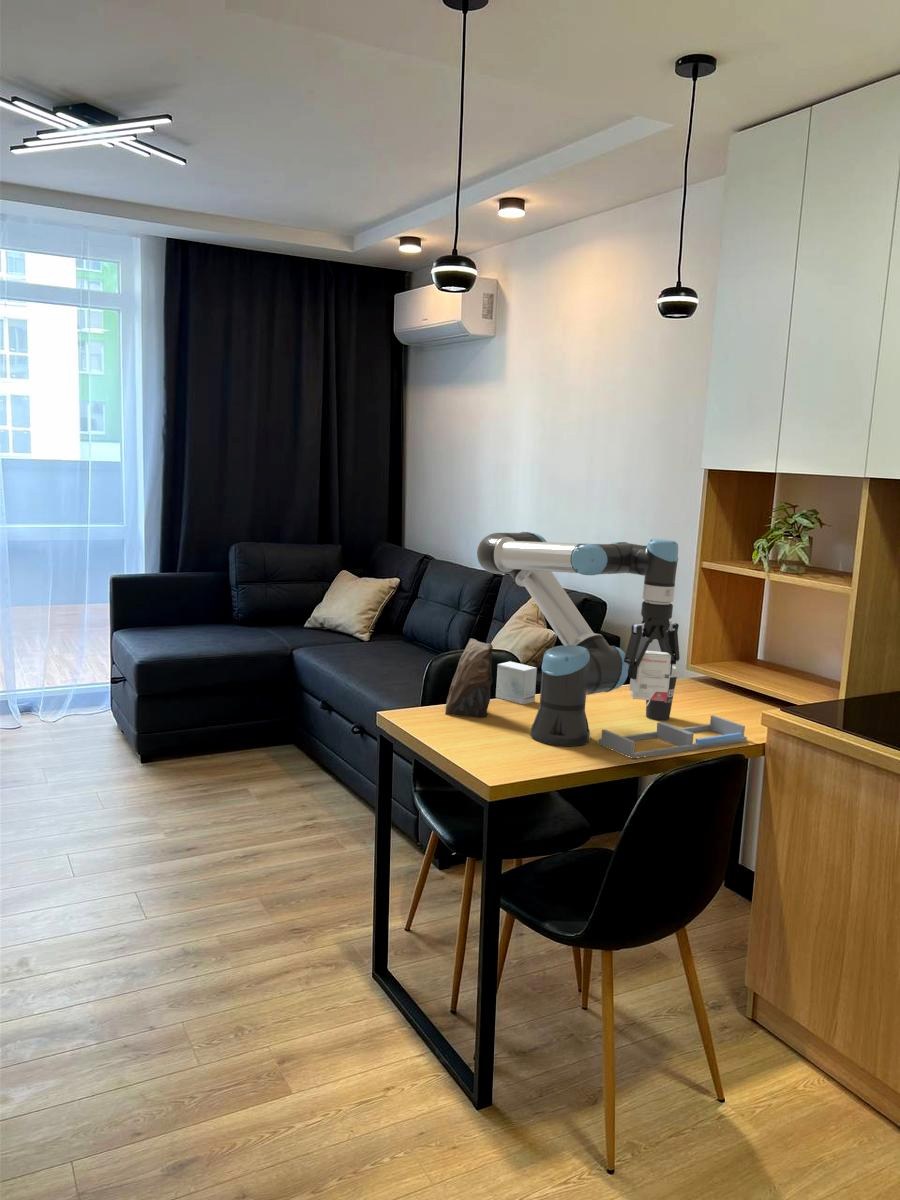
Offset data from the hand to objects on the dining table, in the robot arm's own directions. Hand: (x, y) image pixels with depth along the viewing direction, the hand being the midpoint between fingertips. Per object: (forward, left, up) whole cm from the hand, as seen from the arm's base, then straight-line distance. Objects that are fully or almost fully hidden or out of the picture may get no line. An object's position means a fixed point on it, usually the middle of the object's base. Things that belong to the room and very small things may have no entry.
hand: (649, 689), depth 232 cm
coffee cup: (+24, +20, -15) cm, 35 cm away
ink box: (0, 0, -2) cm, 2 cm away
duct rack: (+10, 0, -15) cm, 18 cm away
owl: (-26, +44, -15) cm, 53 cm away
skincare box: (-4, +51, -15) cm, 53 cm away
